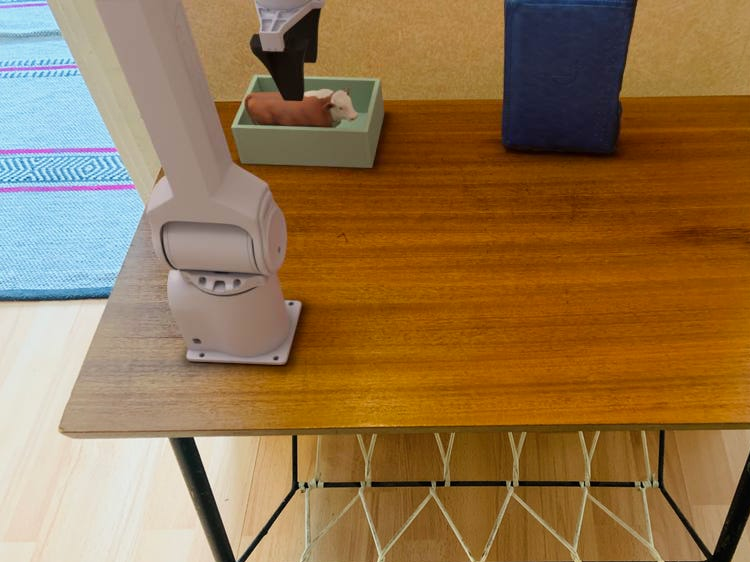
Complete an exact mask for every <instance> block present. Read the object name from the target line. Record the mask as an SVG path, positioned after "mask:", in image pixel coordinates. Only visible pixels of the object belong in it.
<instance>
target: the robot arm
mask: <svg viewBox="0 0 750 562" xmlns="http://www.w3.org/2000/svg"><path fill="white" fill-rule="evenodd" d="M253 1H254V6H255V11H256V13H257V19H258V22H259V31H258V33H253V34H252V36H251V38H250V41H249V46H250V50H251V52H252V54H253V55H254V56H255V57H256V58H257V59H258V60H259V61H260V62H261V64H263V66H264V67H265V69H266V70H267V71H268V73H269V75H271V76H272V78H273V80H274V82H275V84H276V86H277V88H278V90H279V92H280V94H281V96H282V98H283V99H284V101H303V98H304V89H305V87H304V76H305V64H316V63H317V60H318V52H319V26H320V19H321V18H320V17H321V13H322V9H323V8H324V7H325V5H326V2H327V0H253ZM93 2H94V4H95V7H96V9H97V12H98V15H99V17H100V19H101V22H102V24H103V26H104V29H105V31H106V34H107V37H108V39H109V42H110V44H111V47H112V49H113V51H114V54H115V56H116V58H117V59H116V60H117V61H118V64H119V66H120V69H121V70H122V73H123V75H124V79H125V81H126V83H127V86H128V88H129V91H130V92H131V96H132V98H133V100H134V103H135V105H136V107H137V110H138V112H139V114H140V117H141V120H142V123H143V124H144V127H145V129H146V132H147V134H148V137H149V139H150V142H151V144H152V147H153V149H154V151H155V154H156V156H157V159H158V161H159V164H160V166H161V168H162V171H163V174H164V175H163V176H162V177H161V178H159V180H158V181H157V182H156V184H155V185H154V187H153V188H152V190H151V193H150V195H149V198H148V201H147V205H146V208H145V215H146V218H147V220H148V223H149V226H150V230H151V242H152V243H151V244H152V247H153V250H154V253H155V256H156V257H157V258H158V260H159V262H160V263H161V265H162V266H163V267H164V268H166V269H167V270H169V272H168V275H167V283H166V294H167V303H168V305H169V309H170V313H171V315H172V317H173V320H174V321H175V323H176V325H177V328H178V330H179V333H180V334H181V337H182V339H183V341H184V343H185V346H186V348H187V352H186V354H185V357H186V359H187V361H189V362H200V363H201V362H203V363H226V364H227V363H228V364H250V365H251V364H252V365H272V366H273V365H275V366H282V365H283V366H284V365H285V364H287V362H288V359H289V356H290V352H291V348H292V344H293V340H294V336H295V333H296V330H297V326H298V322H299V319H300V315H301V311H302V308H303V305H302V302H301V301H300V300H292V299H291V300H289V299H285V297H284V293H283V290H282V286H281V283H280V278H279V276H278V271H279V270H280V268H281V267H282V266H283V264H284V261H285V258H286V254H287V245H288V230H287V223H286V218H285V215H284V212H283V211H282V209H281V208H280V207H279V205H278V204H277V202H276V201H275V199H274V196H273V193H272V191H271V189H270V185H269V184H268V183H267V182H266V181H264V180H263V179H261V178H260V177H258V176H256V175H255V174H253V173H251V172H250V171H248V170H246V169H244V168H242V167H241V166H239V165H238V164H236V163H235V162H234V161H233V157H232V155H231V152H230V148H229V145H228V142H227V139H226V135H225V132H224V129H223V126H222V122H221V120H220V116H219V114H218V111H217V107H216V104H215V101H214V98H213V94H212V91H211V88H210V84H209V82H208V79H207V75H206V72H205V69H204V66H203V62H202V59H201V56H200V53H199V50H198V47H197V44H196V40H195V37H194V34H193V30H192V28H191V25H190V22H189V18H188V15H187V12H186V9H185V5H184V2H183V0H93Z"/></svg>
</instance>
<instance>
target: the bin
mask: <svg viewBox="0 0 750 562" xmlns="http://www.w3.org/2000/svg"><path fill="white" fill-rule="evenodd" d="M304 87H305V89H304V92H307V91H318V90H321V89H329V90H332V91H333V92H337V91H339V90H342V91H344V92H345V90H346V89H347V88H348V87H349V94H348V96H349V97H350V99H351V102H352V106H353V109H354V110H355V111H356V112H357V113H358V118H357V119H355V120H354V121H351V122H350V121H348V120H347V119H346V120H344V119H342V121H341V123H340V124H339V125H338V126H337V127H336V128H322V127H292V126H262V125H259V124H258V123H257V122H256V121H255V120H254V121H255V122H256V124H257V125H253V123H252V121H251V120H250V118H249V117H248V115H247V113H246V110H245V106H244V100H245V98H246V96H247V95H248V94H250V93H258V92H279V90H278V88H277V86H276V84H275V82H274V80H273V78H272V76H271V75H270V74H253V76H252V79H251V80H250V83H249V85H248V87H247V89H246V92H245V94H244V96H243V99H242V101H241V104H240V106H239V108H238V110H237V112H236V115H235V117H234V119H233V122H232V124H231V126H230V128H231V132H232V136H233V139H234V143H235V146H236V151H237V153H238V157H239V160H240V163H241V164H245V165H271V166H272V165H273V166H274V165H277V166H303V167H304V166H305V167H335V168H360V169H361V168H363V169H372V168H373V165H374V163H375V162H374V161H375V157H376V154H377V153H376V152H377V148H378V144H379V140H380V136H381V135H380V134H381V130H382V127H383V126H382V125H383V121H384V117H385V108H384V97H383V96H384V95H383V88H382V87H383V86H382V79H381V78H379V77H378V78H376V77H347V76H319V75H318V76H315V75H304Z"/></svg>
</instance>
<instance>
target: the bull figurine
mask: <svg viewBox="0 0 750 562" xmlns="http://www.w3.org/2000/svg"><path fill="white" fill-rule="evenodd" d="M348 94H349V87H348V88H347V89H346V90H345V92H344V91H342V90H339V91H337V92H333V91H332V90H329V89H321V90H318V91H307V92H304V98H303V101H284V99H283V98H282V96H281V94H280V92H258V93H250V94H248V95H247V96H246V98H245V100H244V106H245V110H246V113H247V115H248V117H249V118H250V120H251V121H252V123H253V125H257V124H256V122H257V123H258V124H259V125H262V126H292V127H322V128H336V127H337V126H338V125H339V124H340V123H341V121H342V119H344V120H346V119H347V120H348V121H350V122H351V121H354V120H355V119H357V118H358V113H357V112H356V111H355V110H354V109H353V106H352V102H351V99H350V97H349V96H348ZM254 120H255V121H256V122H255V121H254Z"/></svg>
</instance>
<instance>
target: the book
mask: <svg viewBox="0 0 750 562" xmlns="http://www.w3.org/2000/svg"><path fill="white" fill-rule="evenodd" d="M638 1H639V0H503V22H504V28H503V29H504V30H503V69H502V70H503V83H502V85H503V88H502V89H503V91H502V108H501V109H502V110H501V125H500V126H501V128H500V129H501V130H500V131H501V146H502V147H503V148H505V149H513V150H518V151H534V152H558V153H570V152H571V153H594V154H612V153H614V152H616V151H617V148H618V144H619V140H620V139H619V138H620V136H621V131H622V116H623V104H622V101H621V100H620V95H621V92H622V88H623V82H624V74H625V70H626V66H627V60H628V54H629V48H630V42H631V37H632V32H633V28H634V23H635V18H636V11H637V6H638Z"/></svg>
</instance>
